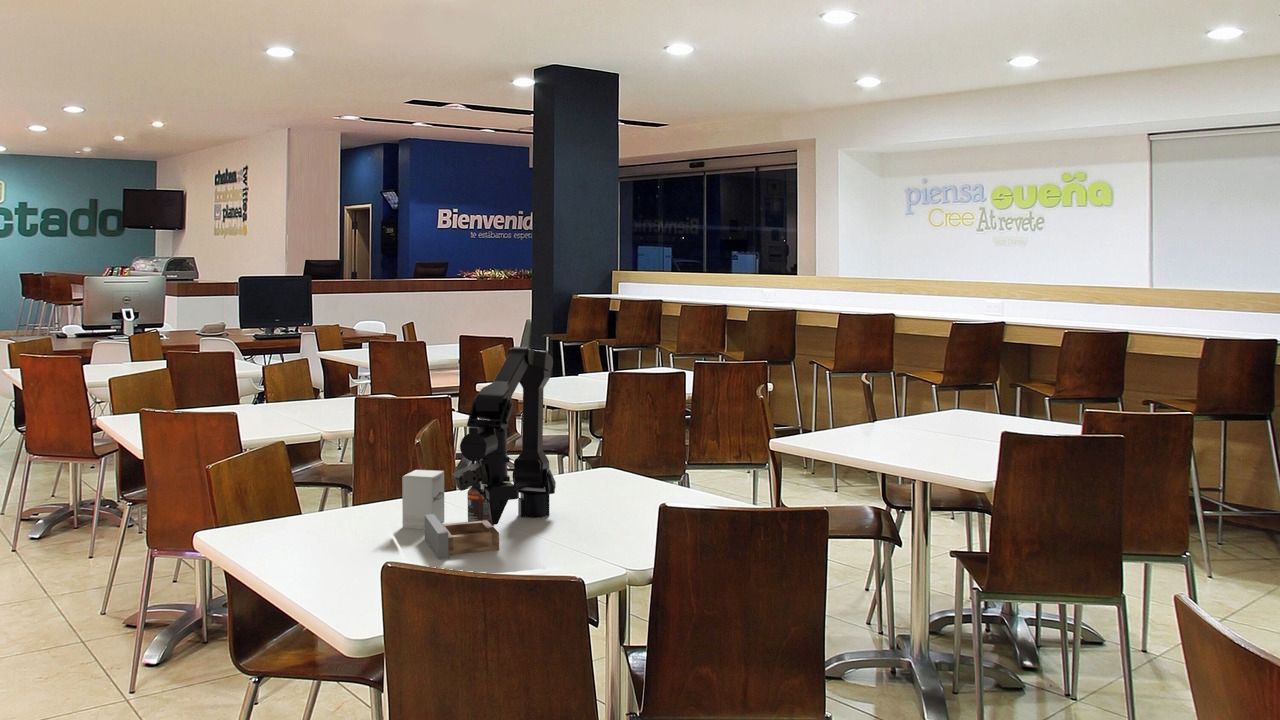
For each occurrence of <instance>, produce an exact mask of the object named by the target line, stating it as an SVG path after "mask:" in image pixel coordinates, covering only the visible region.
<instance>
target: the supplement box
mask: <svg viewBox="0 0 1280 720" xmlns="http://www.w3.org/2000/svg"><path fill="white" fill-rule="evenodd" d="M401 478H402V483H401V484H402V485H401V486H402V492H401V493H402V495H401V496H402V500H401V501H402V528H403V529H404V528H405V529H418V530H419V529H420V530H422V529H423V530H425V515H428V514H434V515H435V516H436V517H437V519H438V520H439V521H440V523H441V524H444V522H445V470H431V469H428V470H427V469H414V470H413V471H411V472H408V473H407V474H405V475H403V476H402V477H401Z"/></svg>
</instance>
